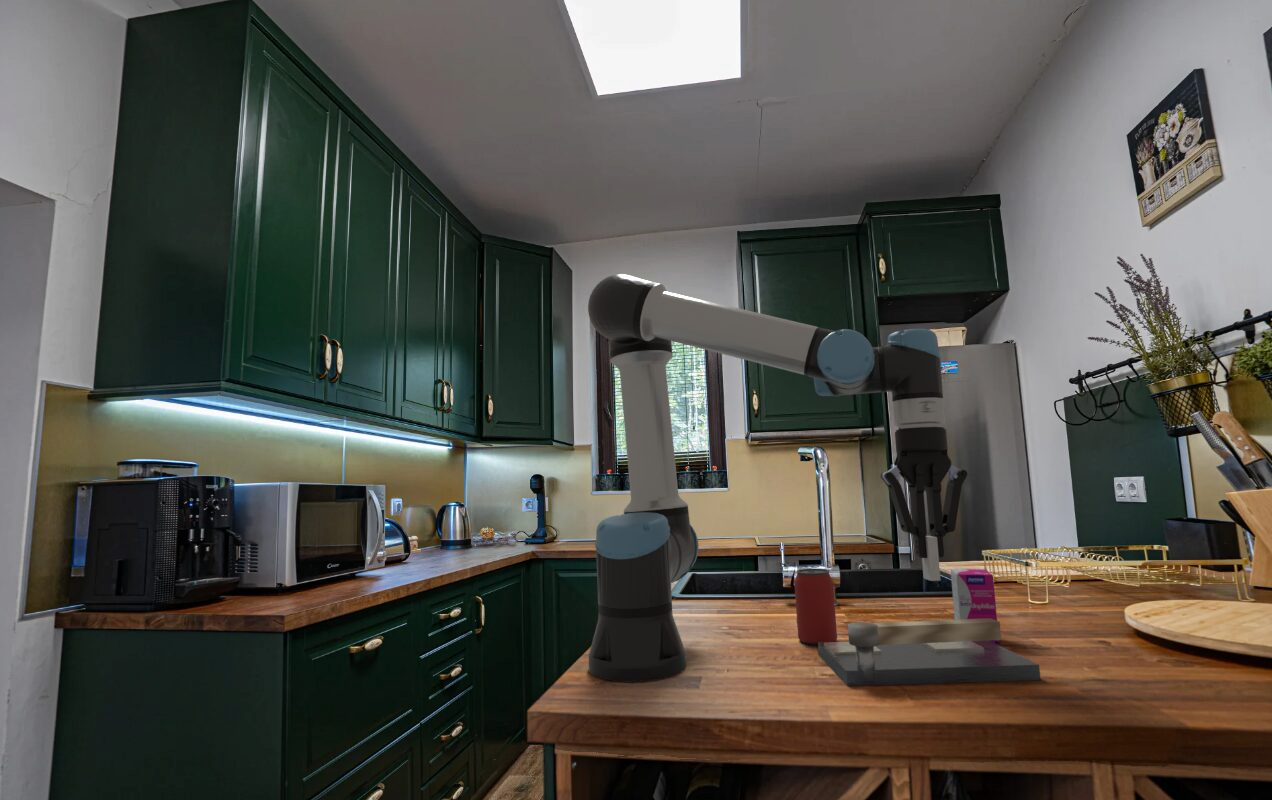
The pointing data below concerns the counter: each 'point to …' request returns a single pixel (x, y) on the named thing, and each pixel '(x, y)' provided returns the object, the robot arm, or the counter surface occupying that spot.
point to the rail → (923, 632)
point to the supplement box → (973, 595)
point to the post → (866, 663)
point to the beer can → (815, 606)
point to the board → (931, 663)
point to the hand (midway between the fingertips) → (931, 579)
